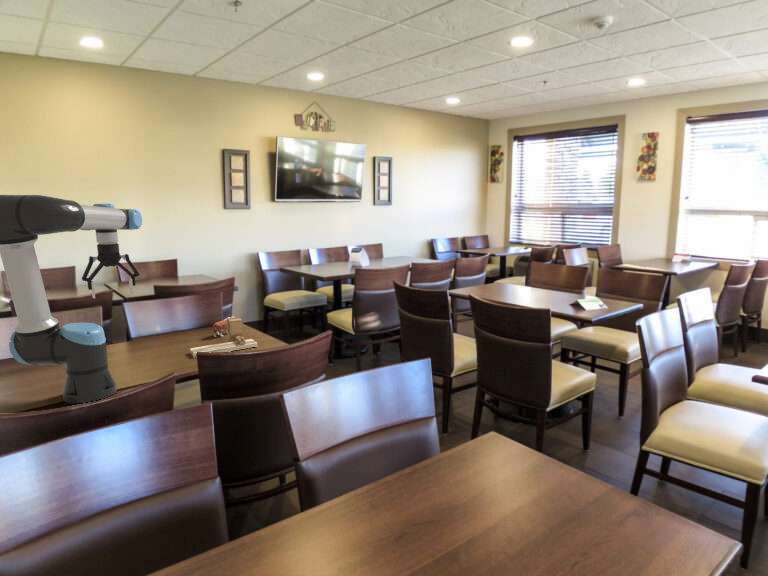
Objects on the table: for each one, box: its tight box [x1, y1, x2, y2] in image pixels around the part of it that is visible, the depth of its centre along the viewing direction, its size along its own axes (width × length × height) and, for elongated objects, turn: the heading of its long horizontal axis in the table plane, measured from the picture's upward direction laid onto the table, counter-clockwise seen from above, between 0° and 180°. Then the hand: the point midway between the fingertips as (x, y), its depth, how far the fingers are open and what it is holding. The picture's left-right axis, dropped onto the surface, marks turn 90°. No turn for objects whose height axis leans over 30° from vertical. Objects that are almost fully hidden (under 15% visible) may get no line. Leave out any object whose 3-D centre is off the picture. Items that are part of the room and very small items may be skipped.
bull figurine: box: [212, 315, 235, 338], centre depth 231 cm, size 4×13×8 cm, turn 148°
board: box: [189, 338, 259, 359], centre depth 208 cm, size 8×26×2 cm, turn 123°
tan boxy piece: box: [226, 316, 246, 345], centre depth 214 cm, size 14×5×11 cm, turn 33°
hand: (113, 295), depth 199 cm, fingers open, 13 cm apart
